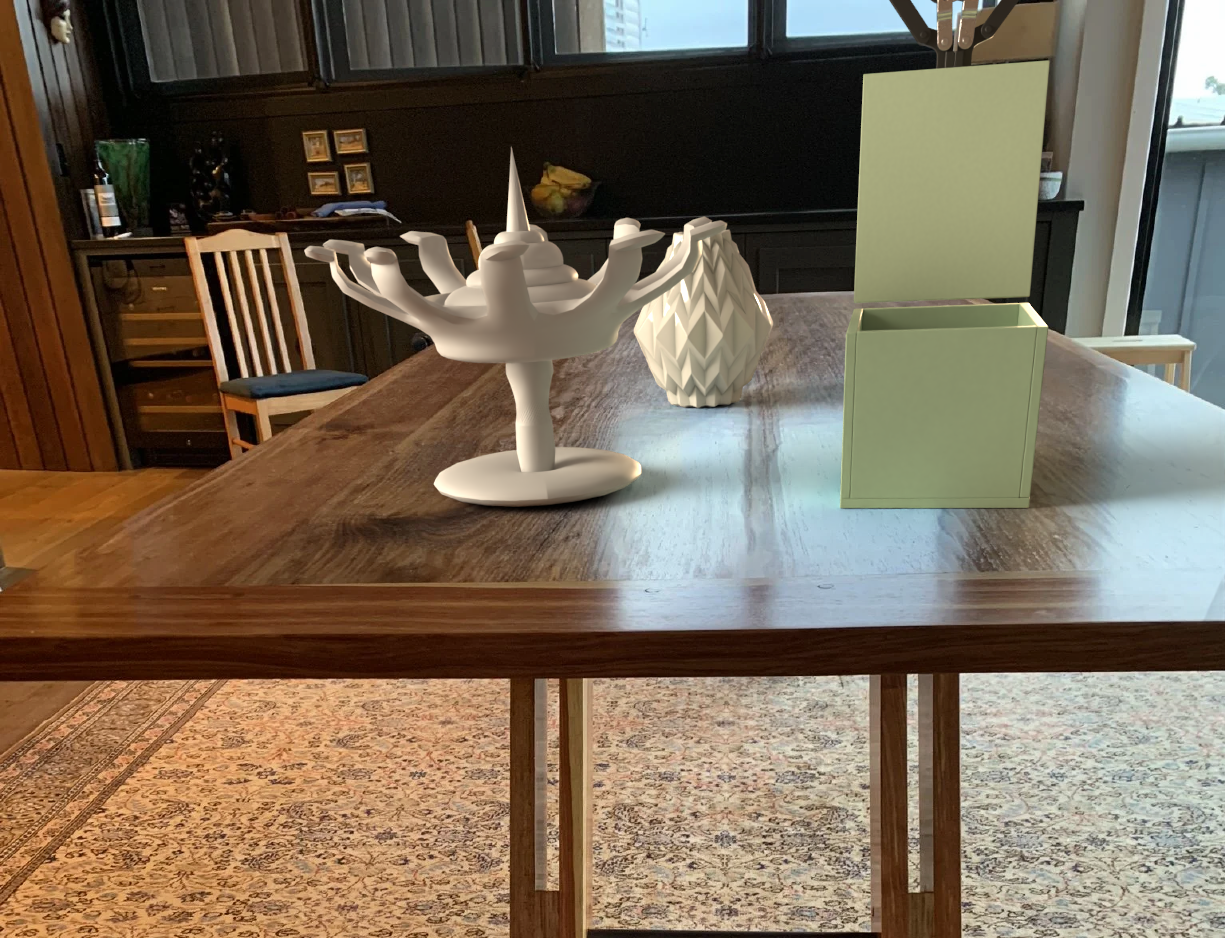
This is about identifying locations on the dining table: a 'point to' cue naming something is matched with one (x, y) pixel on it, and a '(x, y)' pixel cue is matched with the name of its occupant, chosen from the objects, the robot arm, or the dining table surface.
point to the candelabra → (522, 337)
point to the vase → (706, 328)
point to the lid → (949, 182)
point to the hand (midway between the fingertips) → (950, 102)
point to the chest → (941, 406)
